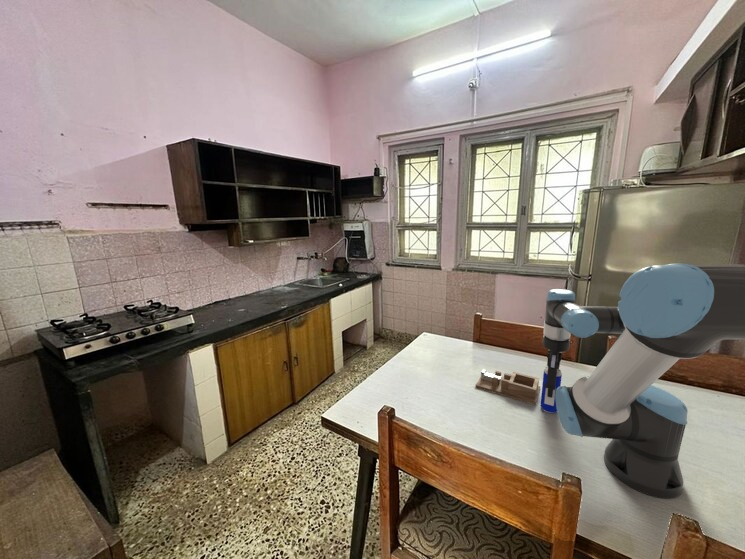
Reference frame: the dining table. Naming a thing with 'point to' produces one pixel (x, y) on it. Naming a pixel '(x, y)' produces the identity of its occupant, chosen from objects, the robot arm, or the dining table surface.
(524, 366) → the dining table surface
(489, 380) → the lock pin
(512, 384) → the mount
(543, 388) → the beverage can
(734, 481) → the dining table surface
